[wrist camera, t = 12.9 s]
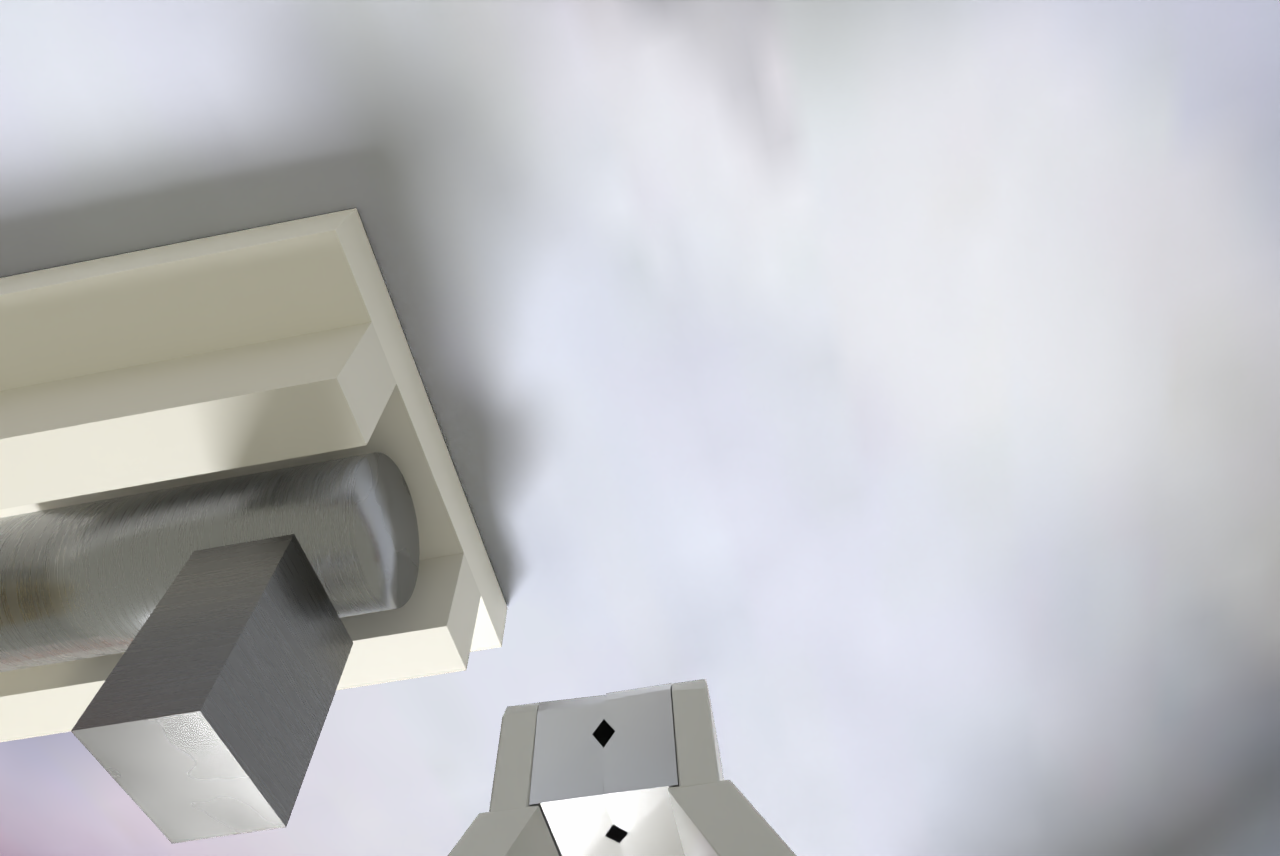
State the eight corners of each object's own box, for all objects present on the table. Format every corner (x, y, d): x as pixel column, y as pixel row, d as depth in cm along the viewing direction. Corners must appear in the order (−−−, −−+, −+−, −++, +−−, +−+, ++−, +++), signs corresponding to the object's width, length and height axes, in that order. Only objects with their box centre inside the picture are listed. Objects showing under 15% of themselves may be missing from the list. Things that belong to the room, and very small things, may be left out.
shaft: (381, 423, 17) (252, 692, 11) (429, 538, 19) (342, 826, 13) (8, 489, 18) (-316, 781, 12) (88, 594, 20) (-155, 897, 13)
